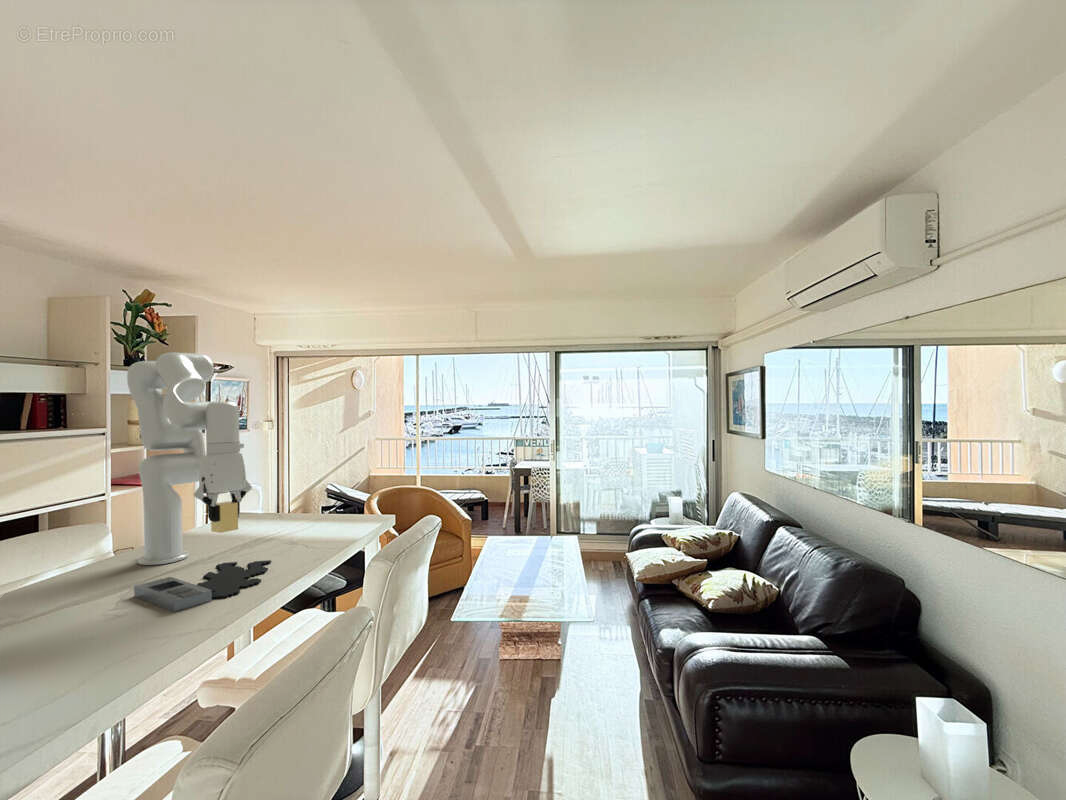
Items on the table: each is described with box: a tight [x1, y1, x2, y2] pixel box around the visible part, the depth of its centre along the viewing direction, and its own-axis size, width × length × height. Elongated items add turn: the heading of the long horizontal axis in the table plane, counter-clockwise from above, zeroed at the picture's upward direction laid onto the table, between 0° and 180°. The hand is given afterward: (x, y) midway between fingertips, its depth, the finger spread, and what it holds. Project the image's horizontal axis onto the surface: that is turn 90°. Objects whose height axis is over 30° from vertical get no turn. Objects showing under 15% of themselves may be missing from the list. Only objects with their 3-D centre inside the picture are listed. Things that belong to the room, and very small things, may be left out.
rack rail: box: [133, 576, 213, 613], centre depth 129 cm, size 20×8×3 cm, turn 58°
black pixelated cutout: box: [196, 559, 272, 601], centre depth 143 cm, size 16×1×30 cm
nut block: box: [210, 500, 239, 534], centre depth 141 cm, size 4×4×7 cm
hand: (224, 518), depth 141 cm, fingers closed on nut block, 4 cm apart
